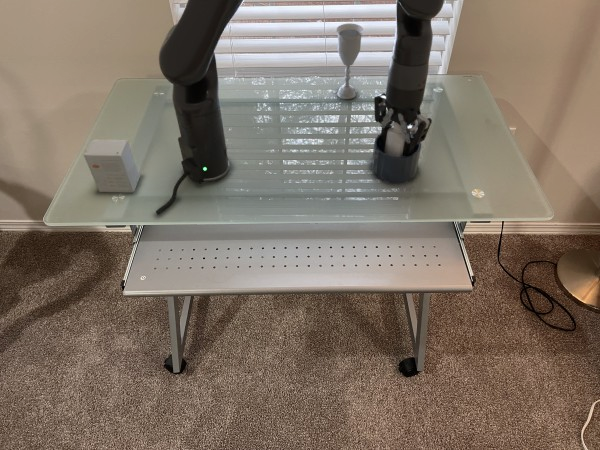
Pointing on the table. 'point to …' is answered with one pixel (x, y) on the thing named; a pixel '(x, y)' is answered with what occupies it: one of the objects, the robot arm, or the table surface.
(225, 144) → the robot arm
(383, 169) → the dark blue round container
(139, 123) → the table surface
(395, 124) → the eye dropper bottle
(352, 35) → the chalice
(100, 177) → the small box
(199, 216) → the table surface
